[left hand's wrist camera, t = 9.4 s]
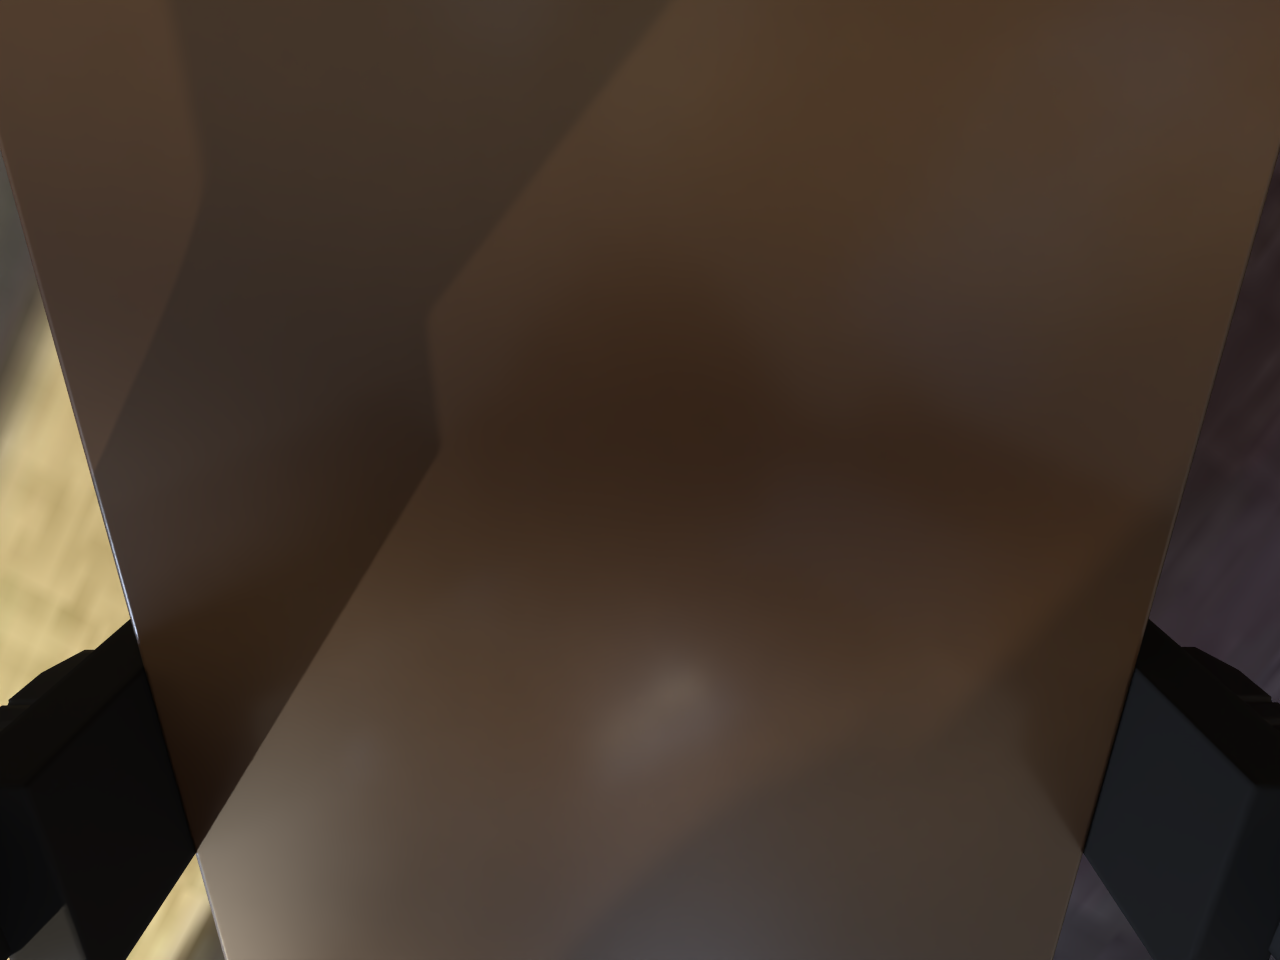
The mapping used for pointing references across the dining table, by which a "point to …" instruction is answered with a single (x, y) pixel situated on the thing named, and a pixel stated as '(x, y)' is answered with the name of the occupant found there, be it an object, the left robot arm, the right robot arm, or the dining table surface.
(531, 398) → the cabinet
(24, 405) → the dining table surface
